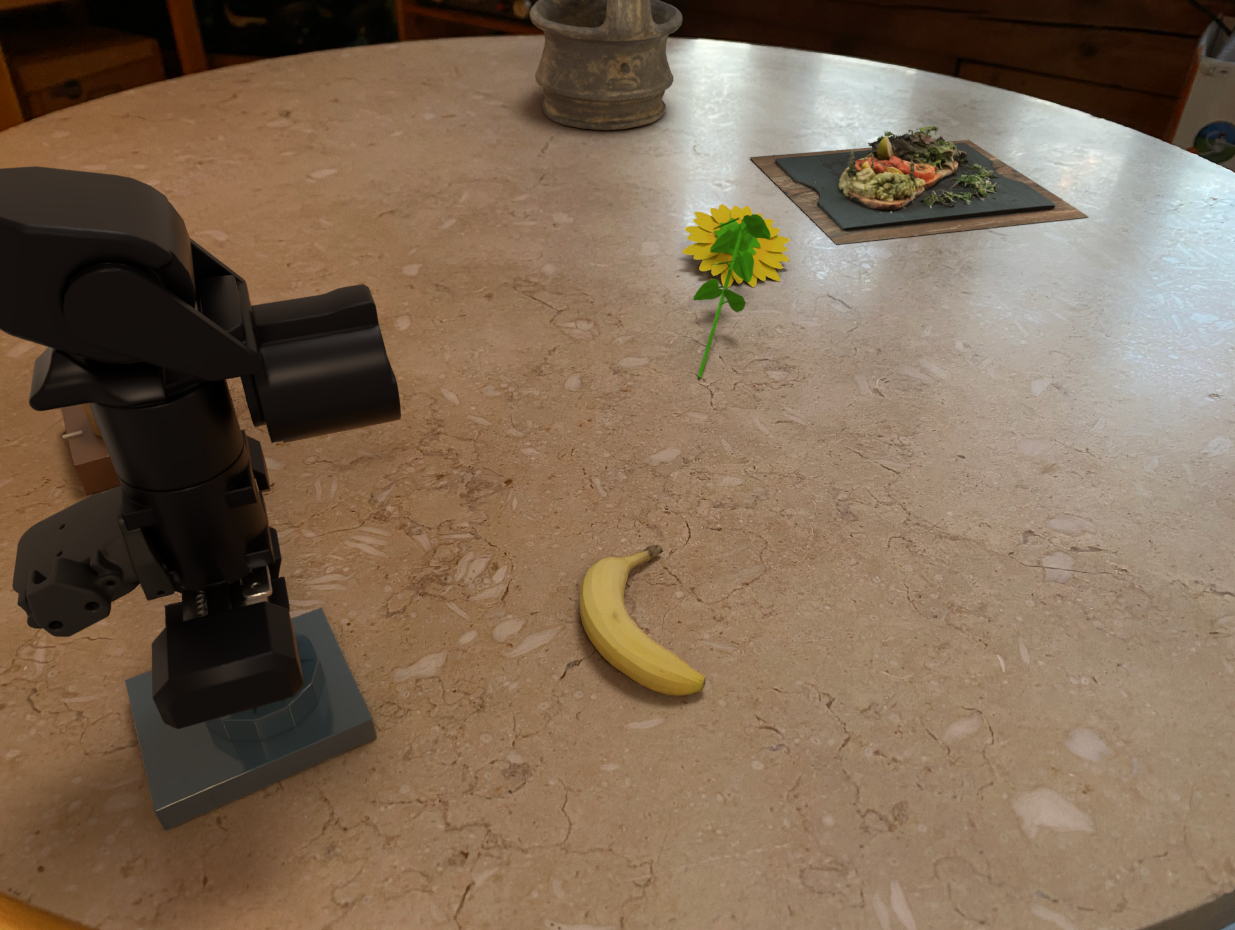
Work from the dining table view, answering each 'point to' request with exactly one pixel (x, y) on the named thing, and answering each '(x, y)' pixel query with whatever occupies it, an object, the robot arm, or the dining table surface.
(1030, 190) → the plated dish
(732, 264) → the flower
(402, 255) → the dining table surface
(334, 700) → the knob base
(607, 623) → the fruit
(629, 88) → the clay pot
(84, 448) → the panel
